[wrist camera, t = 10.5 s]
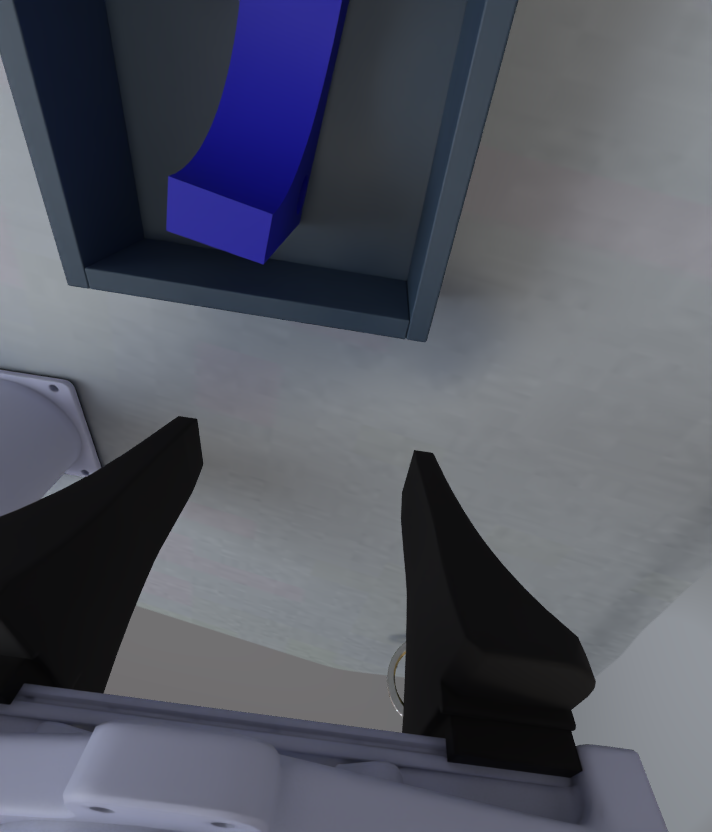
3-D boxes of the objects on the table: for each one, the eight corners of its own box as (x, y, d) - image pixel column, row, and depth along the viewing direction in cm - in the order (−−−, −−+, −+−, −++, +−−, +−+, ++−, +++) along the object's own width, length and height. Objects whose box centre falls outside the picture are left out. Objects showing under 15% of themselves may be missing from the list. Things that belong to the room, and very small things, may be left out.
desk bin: (136, 249, 19) (67, 285, 15) (-18, -605, 9) (-386, -1253, 5) (419, 295, 19) (426, 343, 15) (603, -473, 9) (779, -968, 5)
